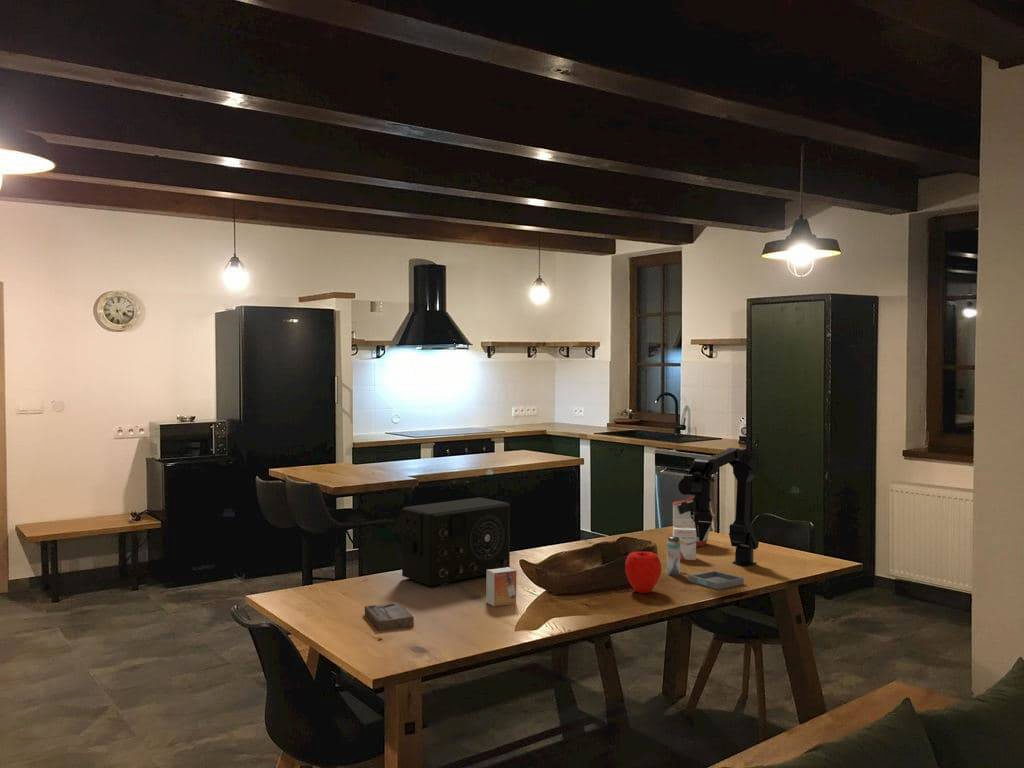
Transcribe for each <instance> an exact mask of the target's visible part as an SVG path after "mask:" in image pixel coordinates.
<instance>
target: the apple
mask: <svg viewBox="0 0 1024 768" xmlns="http://www.w3.org/2000/svg"><path fill="white" fill-rule="evenodd" d="M624 568H625V570H624V572H625V575H626V578H627V580H628V583H629V584H630V586H631V587H632V589H634V591H635V592H637V593H639V594H647V593H650V592H652V591H653V590H654V588H655V586H656V585H657V583H658V581H659V579H660V576H661V575H662V562H661V559H660V558H659V556H658V555H657V554H656V553H654V552H653V551H643V550H641V551H640V550H639V551H632V552H630V553H629V554H628V555H627V557H626V559H625V563H624Z"/></svg>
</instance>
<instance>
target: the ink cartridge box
mask: <svg viewBox="0 0 1024 768" xmlns="http://www.w3.org/2000/svg"><path fill="white" fill-rule="evenodd" d="M681 522H688V524H681ZM672 536H675V537H679V540H680V561H683V560H685V561H686V560H687V561H696V560H697V546H696V529H695V522H694V521H693V520H689V519H674V527H673V526H672Z"/></svg>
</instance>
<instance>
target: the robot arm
mask: <svg viewBox="0 0 1024 768" xmlns="http://www.w3.org/2000/svg"><path fill="white" fill-rule="evenodd" d="M727 464H729V465H730V466H731V467H732V474H733V475H734V478H735V480H736V498H735V499H736V500H735V502H736V503H735V520H734V521H733V522H732V523H730V524H729V530H728V531H729V532H728V536H729V540H730V545H731V547H735V553H734V554H735V557H734V560H733V561H732V564H736V565H740V566H744V567H748V566H752V565H757V561H756V562H755V561H754V550H757V549H758V548H759V540H758V539H757V538H756V536H755V535H754V533H755V531H754V527H753V525H752V523H751V521H750V514H751V513H750V512H751V510H750V509H751V491H752V490H751V488H752V481H753V480H754V478H755V476H756V474H757V468H758V462H757V460H755V458H753V457H752V456H750V455H749V454H747V453H746V452H744V451H743V450H742V449H740V448H737V447H728V448H726V449H725V450H723V451H721V452H719V453H716V454H714V455H711V456H709V457H705V456H704V457H697V458H695V459H694V460H693V461H692V464H691V466H690V468H689V470H688V471H687V474H683V478H682V479H680V480H679V483H678V485H677V488H678V491H679V492H680V494H681V495H684V496H693V497H692V501H688V502H686V501H685V502H681V503H680V504H677V508H678V511H679V514H684V513H685V512H689V511H690V515H691V516H690V517H691V518H692V519H693V521H694V522H695V528H696V535H697V537H699V541H703V539H704V537H705V535H706V533H707V531H708V529H709V527H710V528H711V525H712V523H713V517H714V516H712V515H711V514H710V505H711V502H712V498H711V493H712V483H714V482H716V480H715V479H714V478H713V475H715V474H716V473H717V472H718V470H719V468H721V467H723V466H725V465H727ZM692 515H693V516H692Z"/></svg>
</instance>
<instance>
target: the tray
mask: <svg viewBox="0 0 1024 768" xmlns="http://www.w3.org/2000/svg"><path fill="white" fill-rule="evenodd" d="M687 579H688V581H687V582H688V583H691V584H695V585H699V586H702V587H707V588H709V589H714V590H716V591H717V590H724V589H728V588H732V587H736V586H741V585H744V583H745V578H744V577H742V576H737V575H733V574H730V573H726V572H722V571H719V570H716V569H715V570H710V571H704V572H700V573H694V574H689V575H688V578H687Z"/></svg>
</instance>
